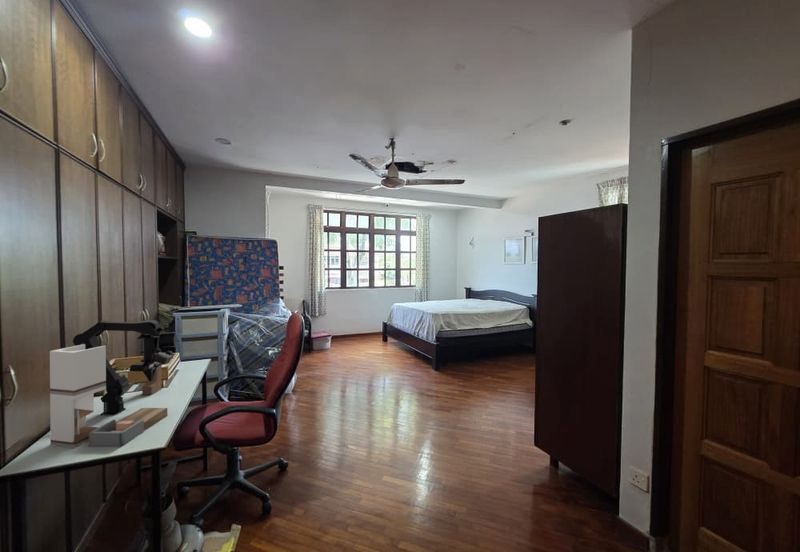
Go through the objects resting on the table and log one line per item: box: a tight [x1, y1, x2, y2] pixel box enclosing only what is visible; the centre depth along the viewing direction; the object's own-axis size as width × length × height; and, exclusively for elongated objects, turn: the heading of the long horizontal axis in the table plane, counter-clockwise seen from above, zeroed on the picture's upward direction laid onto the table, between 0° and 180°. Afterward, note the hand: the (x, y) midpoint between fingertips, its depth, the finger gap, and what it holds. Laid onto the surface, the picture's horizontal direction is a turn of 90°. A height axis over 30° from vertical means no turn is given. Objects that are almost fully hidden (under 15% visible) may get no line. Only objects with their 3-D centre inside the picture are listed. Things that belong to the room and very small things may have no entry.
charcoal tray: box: [88, 419, 145, 448], centre depth 131 cm, size 12×11×5 cm
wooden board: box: [116, 407, 168, 432], centre depth 144 cm, size 11×15×4 cm
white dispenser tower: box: [49, 344, 107, 449], centre depth 130 cm, size 11×11×35 cm
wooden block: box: [141, 363, 162, 396], centre depth 180 cm, size 9×4×18 cm, turn 6°
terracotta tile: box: [116, 420, 134, 431], centre depth 134 cm, size 5×5×2 cm
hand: (150, 381), depth 159 cm, fingers closed
